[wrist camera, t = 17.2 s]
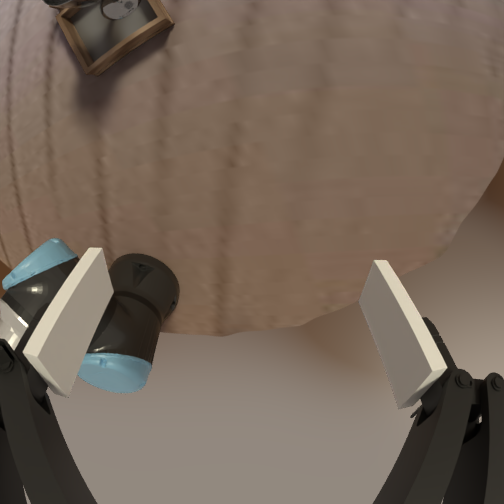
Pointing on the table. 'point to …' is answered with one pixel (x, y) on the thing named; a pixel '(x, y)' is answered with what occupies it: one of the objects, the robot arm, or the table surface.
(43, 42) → the table surface
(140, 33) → the wooden tray
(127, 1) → the silver goblet
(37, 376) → the robot arm
